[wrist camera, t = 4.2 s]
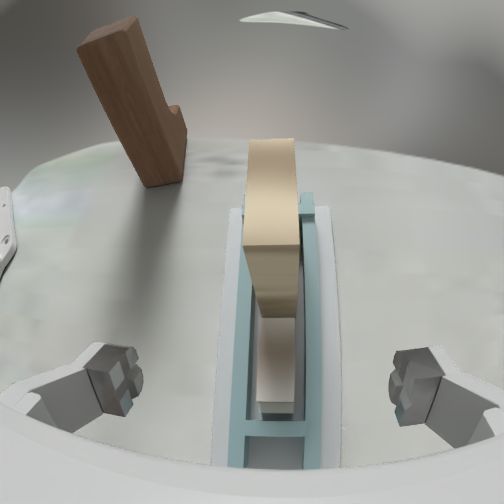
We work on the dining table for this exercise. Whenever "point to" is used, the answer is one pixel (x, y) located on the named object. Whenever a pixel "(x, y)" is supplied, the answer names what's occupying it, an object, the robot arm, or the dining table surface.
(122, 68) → the wooden block
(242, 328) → the rack
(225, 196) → the dining table surface
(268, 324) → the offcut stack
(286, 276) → the beige rectangular slab
